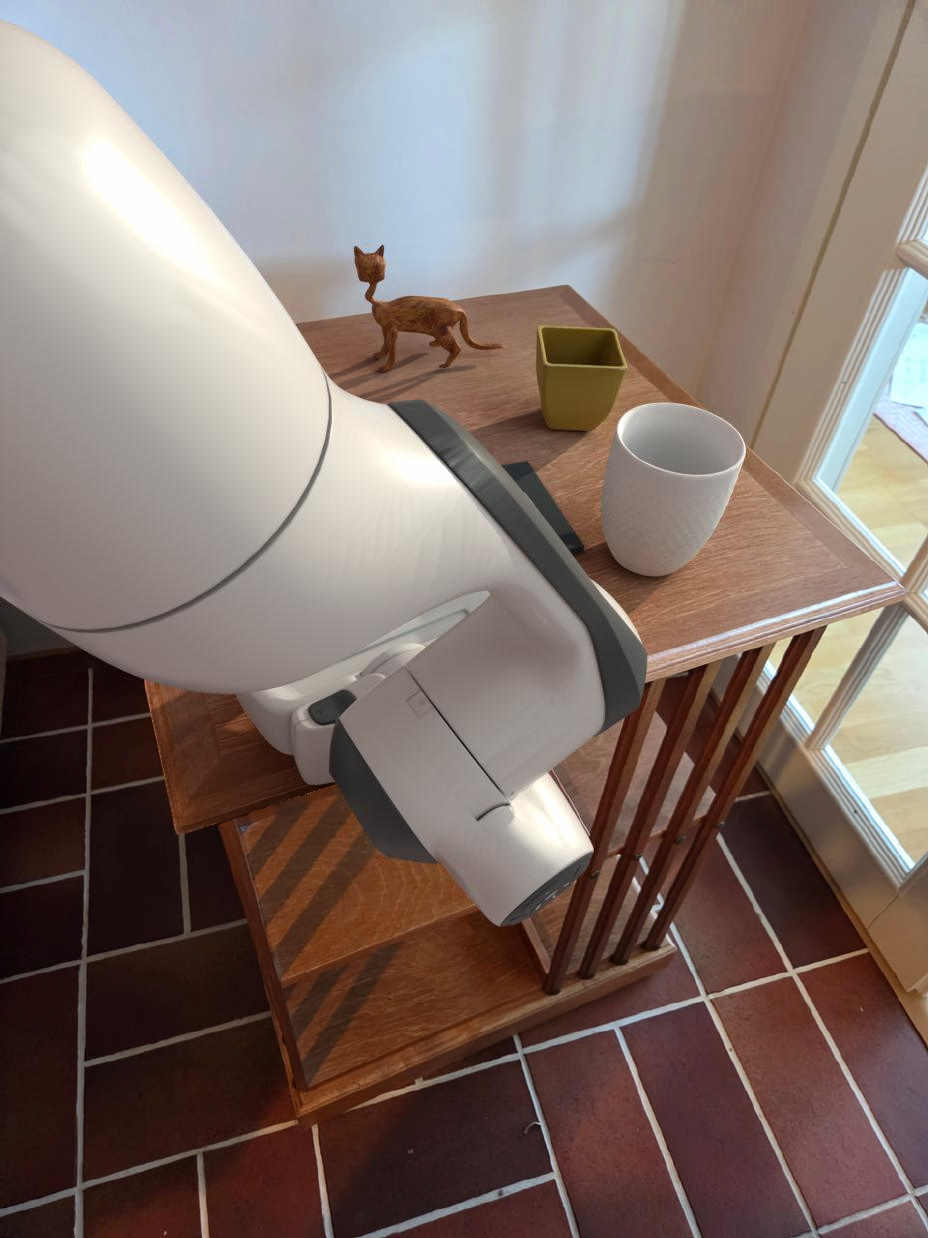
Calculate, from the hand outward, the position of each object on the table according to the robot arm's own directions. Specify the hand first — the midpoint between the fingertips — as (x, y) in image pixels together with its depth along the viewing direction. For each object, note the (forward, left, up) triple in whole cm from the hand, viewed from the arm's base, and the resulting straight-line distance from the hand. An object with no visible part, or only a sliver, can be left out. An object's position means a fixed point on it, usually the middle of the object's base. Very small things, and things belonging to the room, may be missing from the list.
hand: (328, 586), depth 65 cm
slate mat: (+17, +11, -6) cm, 21 cm away
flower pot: (+33, +25, -6) cm, 42 cm away
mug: (+31, +3, -6) cm, 32 cm away
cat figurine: (+22, +41, -6) cm, 47 cm away
